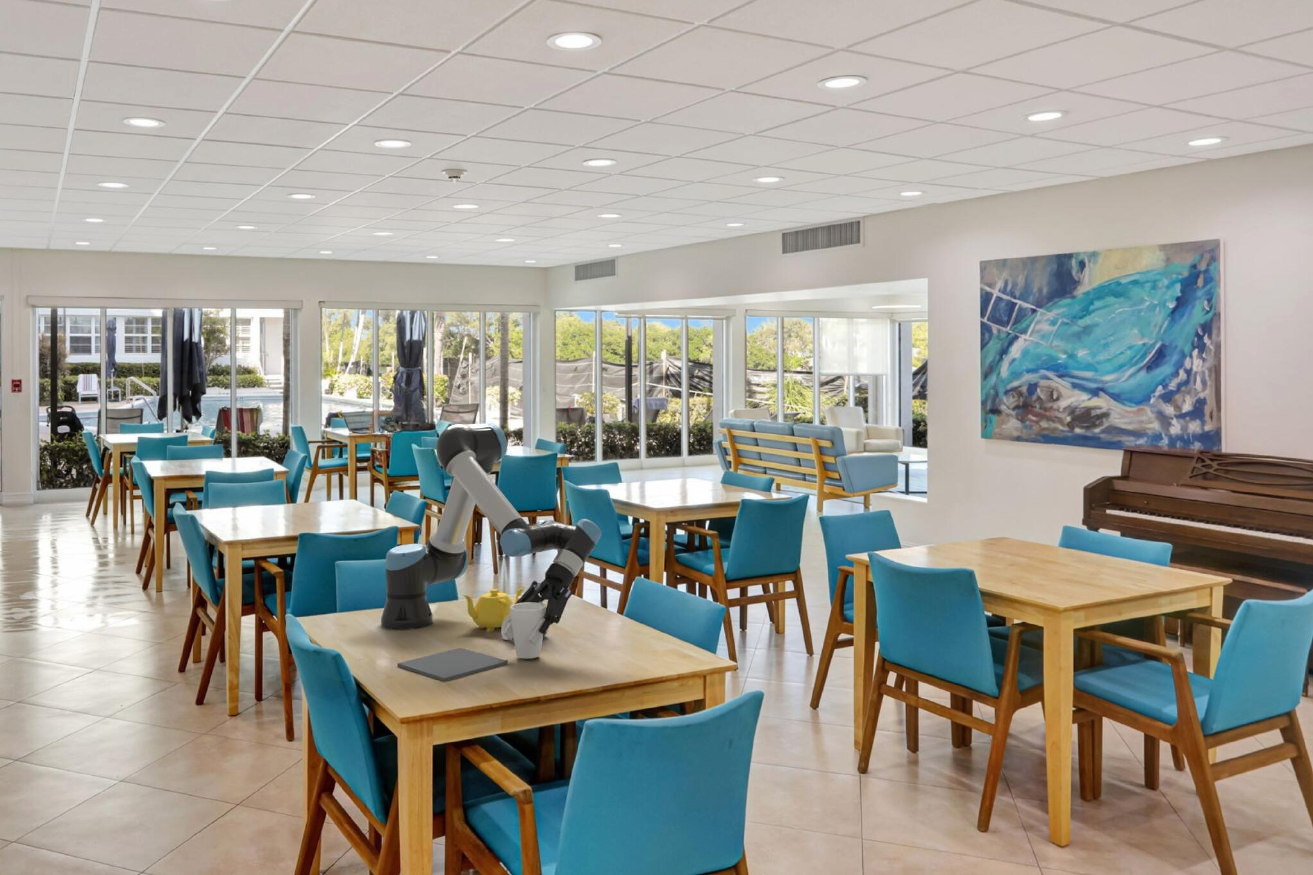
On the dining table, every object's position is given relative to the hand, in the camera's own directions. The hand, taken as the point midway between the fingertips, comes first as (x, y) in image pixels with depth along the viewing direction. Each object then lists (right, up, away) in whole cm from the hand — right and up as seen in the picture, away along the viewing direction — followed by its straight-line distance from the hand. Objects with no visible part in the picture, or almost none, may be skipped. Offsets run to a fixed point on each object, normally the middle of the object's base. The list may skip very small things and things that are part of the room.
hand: (519, 639), depth 268 cm
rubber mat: (-17, -6, -3) cm, 18 cm away
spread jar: (-2, -5, +24) cm, 24 cm away
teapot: (-12, -4, +35) cm, 37 cm away
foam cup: (+2, -5, +3) cm, 6 cm away
